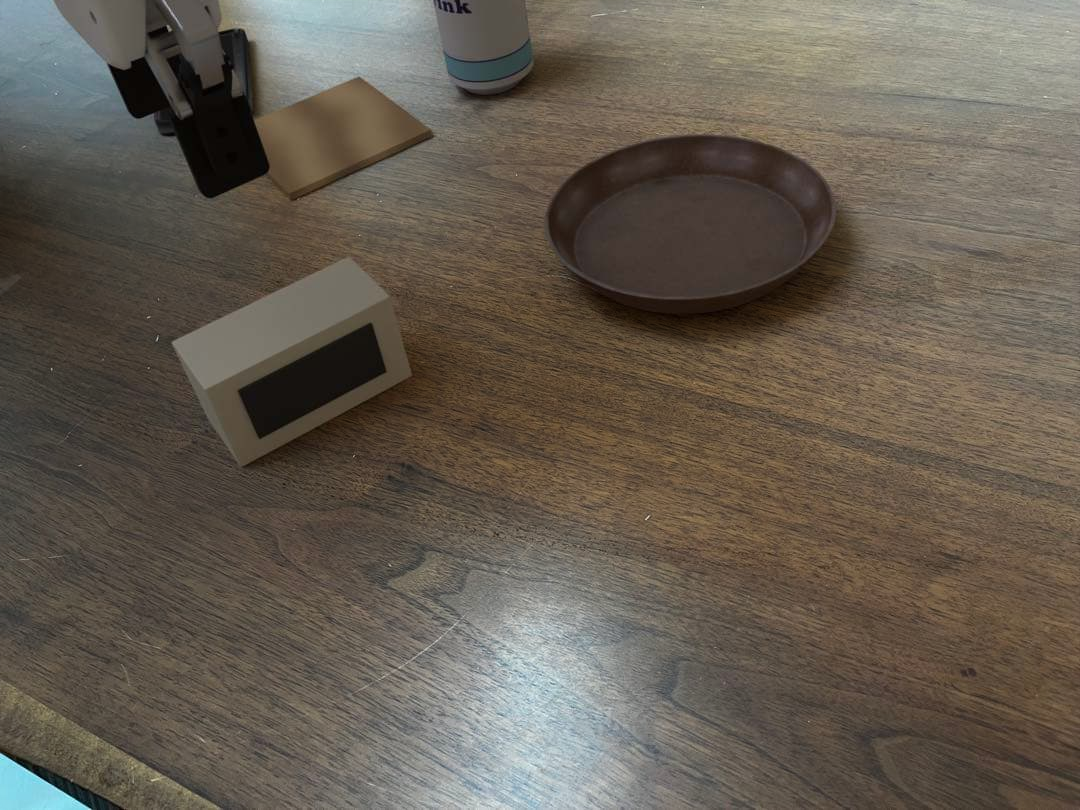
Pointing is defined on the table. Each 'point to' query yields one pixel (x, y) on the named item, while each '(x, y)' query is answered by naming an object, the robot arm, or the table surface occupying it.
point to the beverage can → (485, 43)
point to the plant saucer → (690, 222)
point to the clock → (295, 359)
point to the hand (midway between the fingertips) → (197, 142)
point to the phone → (238, 52)
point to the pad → (334, 136)
